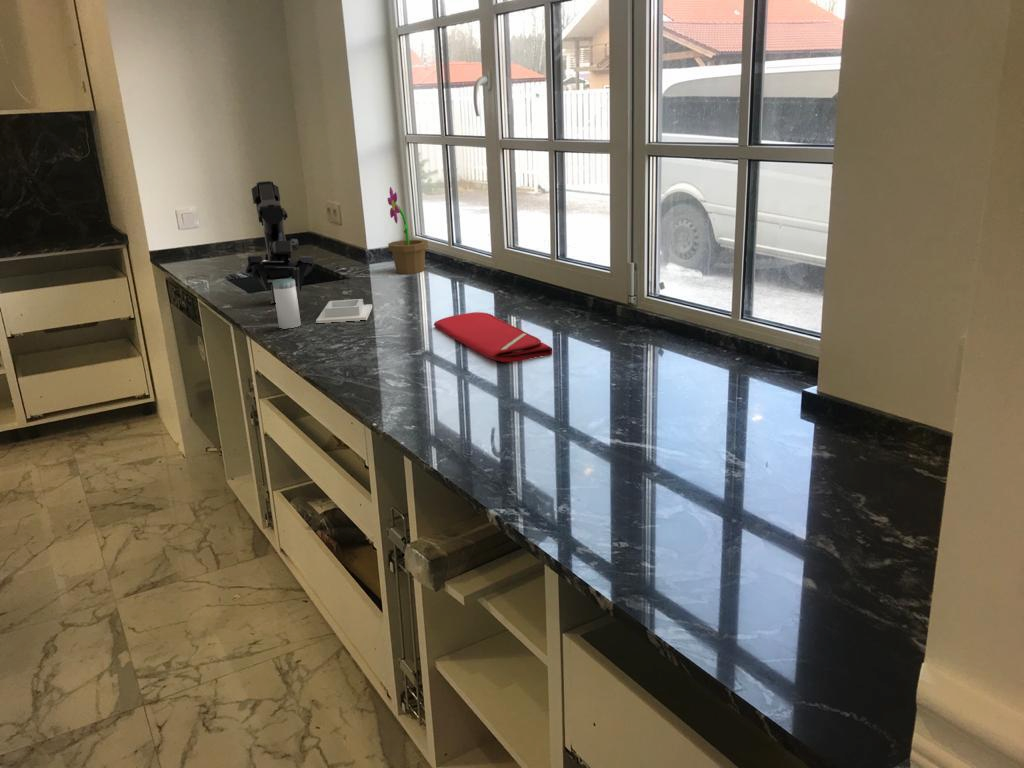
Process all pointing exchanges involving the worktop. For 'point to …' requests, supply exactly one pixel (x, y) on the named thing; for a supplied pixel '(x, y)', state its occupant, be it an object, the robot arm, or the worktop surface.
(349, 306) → the white square stand
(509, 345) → the folded red towel
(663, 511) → the worktop surface
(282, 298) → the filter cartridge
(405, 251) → the flowerpot
